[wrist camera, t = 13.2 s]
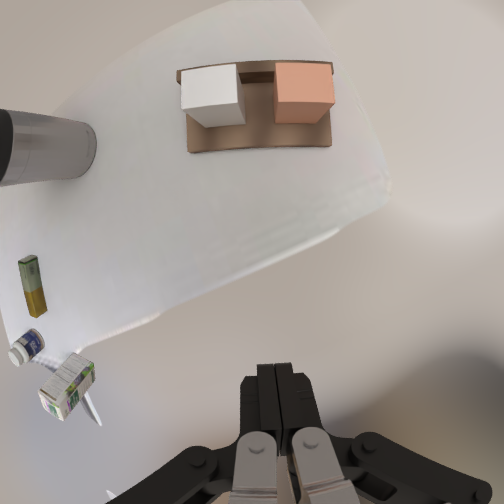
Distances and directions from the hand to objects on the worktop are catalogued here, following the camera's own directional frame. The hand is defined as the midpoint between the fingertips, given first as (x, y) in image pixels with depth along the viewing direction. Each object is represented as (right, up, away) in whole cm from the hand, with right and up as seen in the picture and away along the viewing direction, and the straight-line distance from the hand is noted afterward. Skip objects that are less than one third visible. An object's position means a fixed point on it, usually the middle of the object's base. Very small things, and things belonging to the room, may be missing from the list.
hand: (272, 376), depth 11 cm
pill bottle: (-51, -15, +34) cm, 63 cm away
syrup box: (-37, -19, +35) cm, 54 cm away
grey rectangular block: (-4, +23, +19) cm, 30 cm away
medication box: (-44, -1, +30) cm, 53 cm away
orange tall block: (+4, +23, +18) cm, 30 cm away
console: (0, +24, +21) cm, 31 cm away
